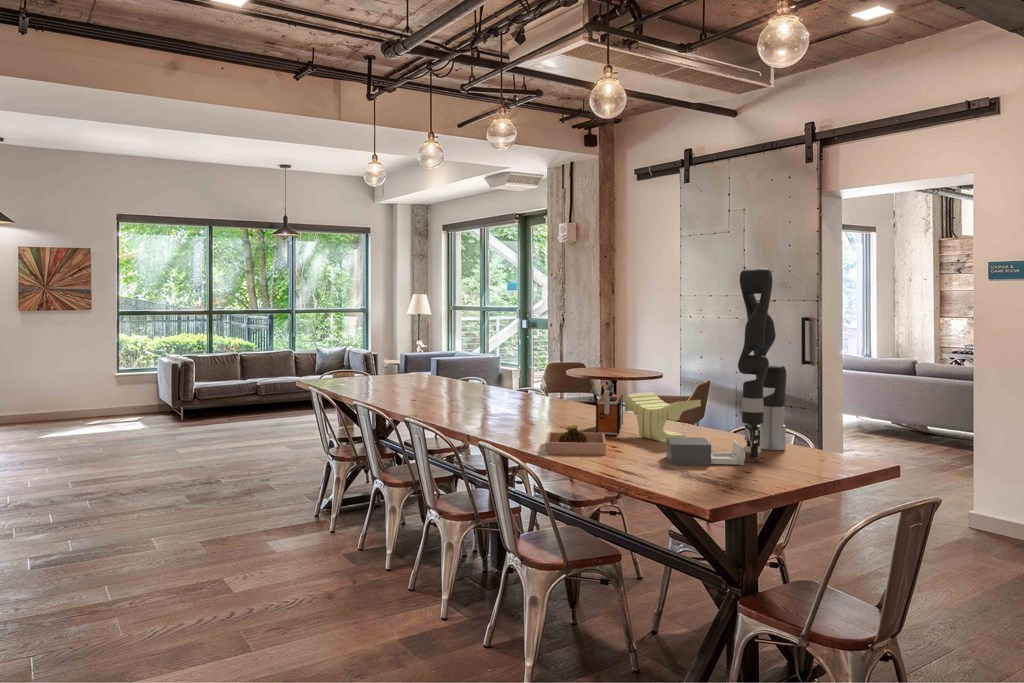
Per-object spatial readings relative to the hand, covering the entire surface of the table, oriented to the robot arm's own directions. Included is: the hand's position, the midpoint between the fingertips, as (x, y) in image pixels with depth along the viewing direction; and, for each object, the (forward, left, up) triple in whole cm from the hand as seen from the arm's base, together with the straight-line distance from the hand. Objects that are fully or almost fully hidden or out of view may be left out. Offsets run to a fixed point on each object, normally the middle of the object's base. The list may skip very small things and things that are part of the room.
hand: (751, 455), depth 273 cm
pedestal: (0, 0, -2) cm, 2 cm away
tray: (+12, +1, -2) cm, 12 cm away
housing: (+23, +1, -2) cm, 23 cm away
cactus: (+66, -19, -3) cm, 68 cm away
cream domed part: (0, 0, +1) cm, 1 cm away
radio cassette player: (+49, -61, -3) cm, 78 cm away
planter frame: (+64, -19, -2) cm, 67 cm away
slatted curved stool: (+28, -44, -3) cm, 52 cm away
